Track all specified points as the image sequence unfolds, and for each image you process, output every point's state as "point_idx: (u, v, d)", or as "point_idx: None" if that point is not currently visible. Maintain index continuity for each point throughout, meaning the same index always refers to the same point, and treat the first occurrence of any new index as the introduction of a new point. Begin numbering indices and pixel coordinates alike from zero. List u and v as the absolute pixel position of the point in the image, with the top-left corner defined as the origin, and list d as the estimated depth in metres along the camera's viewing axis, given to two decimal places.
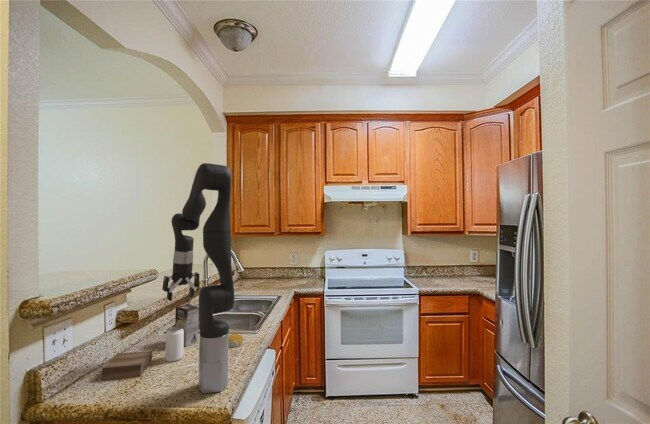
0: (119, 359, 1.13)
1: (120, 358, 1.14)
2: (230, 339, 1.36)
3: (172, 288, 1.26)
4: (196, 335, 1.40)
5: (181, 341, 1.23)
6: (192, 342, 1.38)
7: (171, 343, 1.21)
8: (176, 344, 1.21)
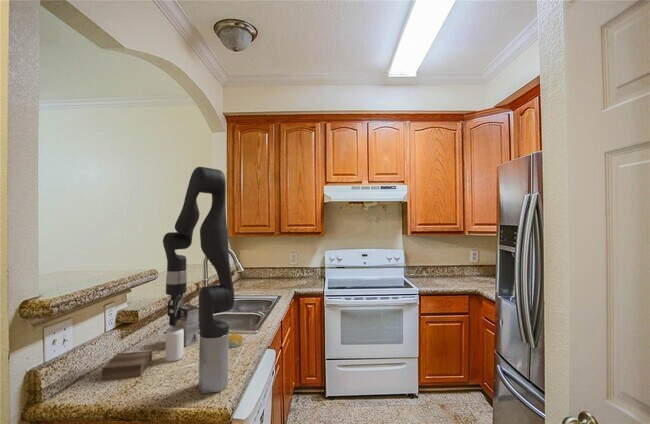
0: (119, 359, 1.13)
1: (120, 358, 1.14)
2: (230, 339, 1.36)
3: (176, 311, 1.21)
4: (196, 335, 1.40)
5: (181, 341, 1.23)
6: (192, 342, 1.38)
7: (171, 343, 1.21)
8: (176, 344, 1.21)
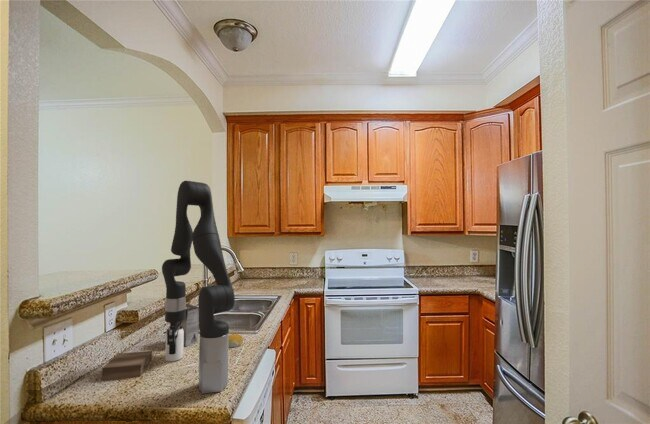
0: (119, 359, 1.13)
1: (120, 358, 1.14)
2: (230, 339, 1.36)
3: None
4: (196, 335, 1.40)
5: (181, 341, 1.23)
6: (192, 342, 1.38)
7: None
8: (176, 344, 1.21)
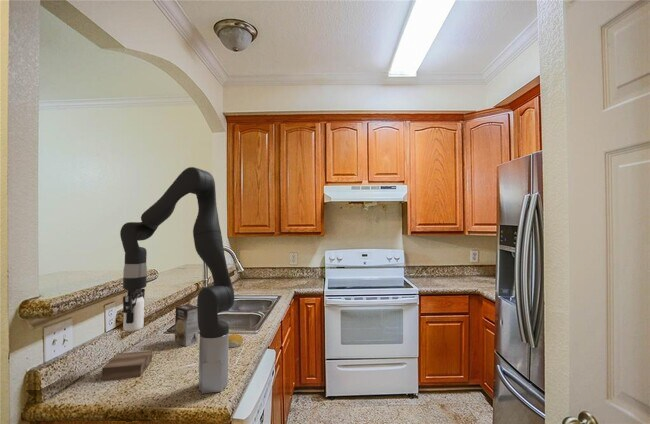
0: (119, 359, 1.13)
1: (120, 358, 1.14)
2: (230, 339, 1.36)
3: None
4: (196, 335, 1.40)
5: (140, 310, 1.15)
6: (192, 342, 1.38)
7: None
8: (134, 313, 1.13)
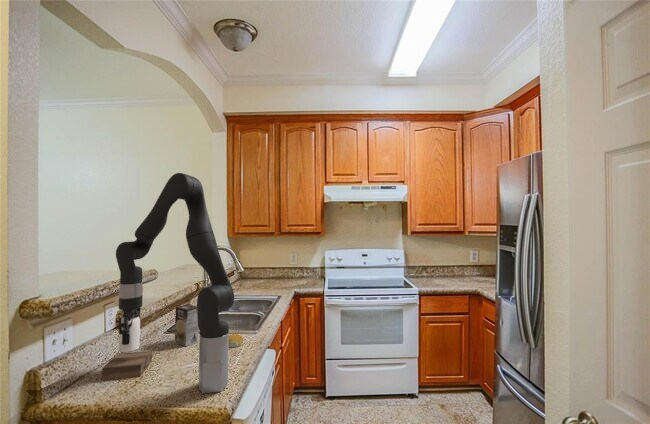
0: (119, 359, 1.13)
1: (120, 358, 1.14)
2: (230, 339, 1.36)
3: (129, 328, 1.11)
4: (196, 335, 1.40)
5: (136, 330, 1.13)
6: (192, 342, 1.38)
7: None
8: (130, 334, 1.12)
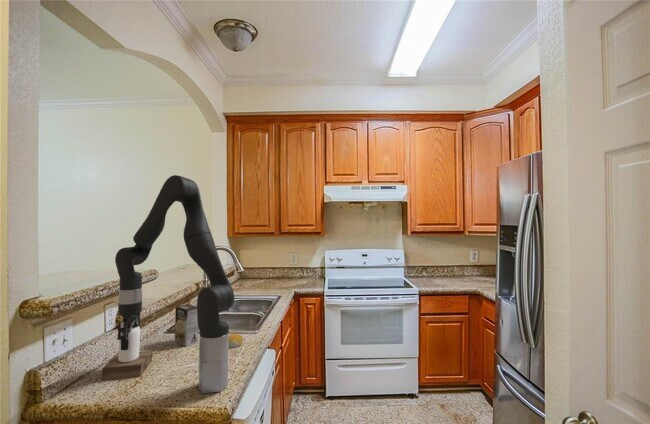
0: None
1: None
2: (230, 339, 1.36)
3: (128, 334, 1.11)
4: (196, 335, 1.40)
5: (136, 340, 1.13)
6: (192, 342, 1.38)
7: None
8: (129, 344, 1.11)
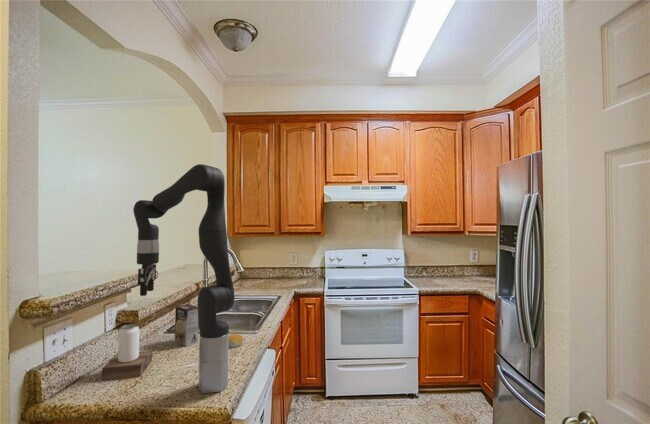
0: None
1: None
2: (230, 339, 1.36)
3: (147, 280, 1.17)
4: (196, 335, 1.40)
5: (135, 340, 1.13)
6: (192, 342, 1.38)
7: (123, 343, 1.11)
8: (129, 344, 1.11)
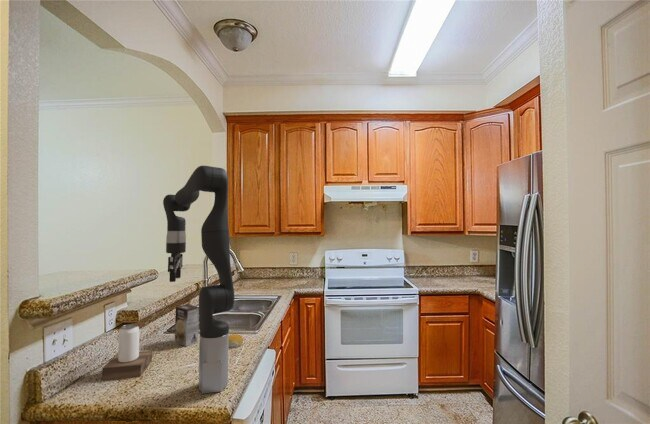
0: None
1: None
2: (230, 339, 1.36)
3: (176, 268, 1.28)
4: (196, 335, 1.40)
5: (135, 340, 1.13)
6: (192, 342, 1.38)
7: (123, 343, 1.11)
8: (129, 344, 1.11)
